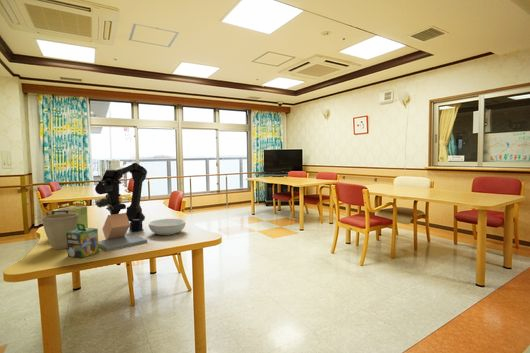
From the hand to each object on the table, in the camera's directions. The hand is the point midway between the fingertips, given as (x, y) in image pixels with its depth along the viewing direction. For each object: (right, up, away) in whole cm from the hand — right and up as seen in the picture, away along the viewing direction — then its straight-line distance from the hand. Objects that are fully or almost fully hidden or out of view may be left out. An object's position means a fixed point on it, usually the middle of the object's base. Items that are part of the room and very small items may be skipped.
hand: (113, 220), depth 156 cm
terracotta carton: (-1, -7, +2) cm, 8 cm away
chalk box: (-2, -12, -23) cm, 27 cm away
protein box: (-32, -10, +13) cm, 36 cm away
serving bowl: (+24, -10, +15) cm, 30 cm away
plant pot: (-20, -12, -12) cm, 26 cm away
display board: (+8, -11, -6) cm, 15 cm away
